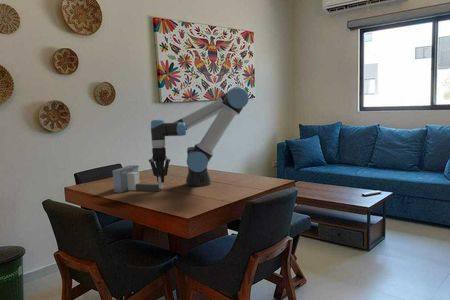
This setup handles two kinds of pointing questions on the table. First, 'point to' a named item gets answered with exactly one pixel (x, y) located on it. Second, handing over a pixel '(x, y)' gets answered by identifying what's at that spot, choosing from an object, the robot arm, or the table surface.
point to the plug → (136, 185)
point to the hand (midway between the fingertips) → (161, 188)
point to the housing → (122, 177)
